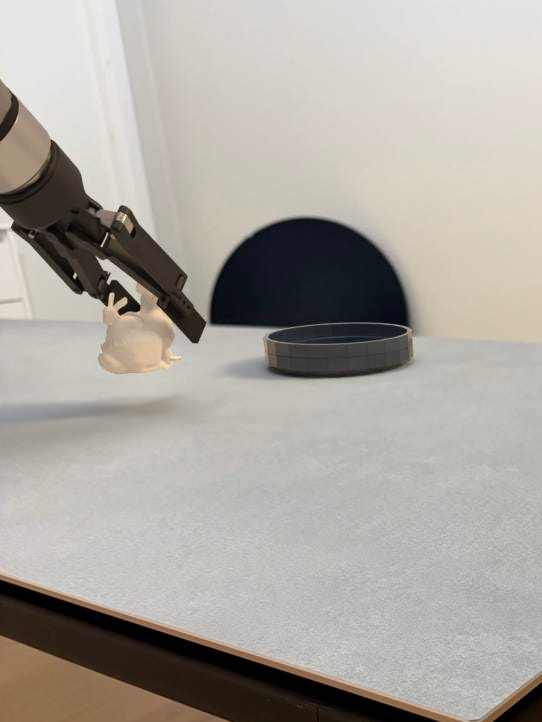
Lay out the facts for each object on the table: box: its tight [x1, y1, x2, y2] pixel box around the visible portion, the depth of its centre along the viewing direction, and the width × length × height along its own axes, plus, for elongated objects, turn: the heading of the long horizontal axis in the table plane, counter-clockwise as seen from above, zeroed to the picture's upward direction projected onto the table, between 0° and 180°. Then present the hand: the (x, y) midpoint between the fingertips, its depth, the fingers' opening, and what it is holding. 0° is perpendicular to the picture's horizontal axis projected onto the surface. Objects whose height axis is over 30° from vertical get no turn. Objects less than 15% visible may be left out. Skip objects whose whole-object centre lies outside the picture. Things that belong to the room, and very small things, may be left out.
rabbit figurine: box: [97, 282, 182, 375], centre depth 100 cm, size 12×8×10 cm, turn 147°
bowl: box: [262, 322, 414, 377], centre depth 125 cm, size 19×19×4 cm
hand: (172, 331), depth 104 cm, fingers closed on rabbit figurine, 6 cm apart
